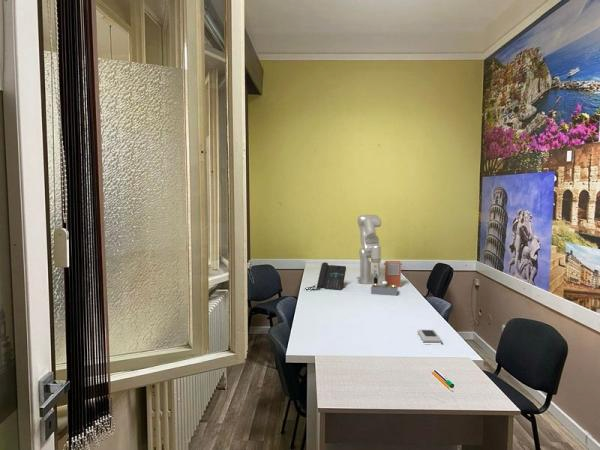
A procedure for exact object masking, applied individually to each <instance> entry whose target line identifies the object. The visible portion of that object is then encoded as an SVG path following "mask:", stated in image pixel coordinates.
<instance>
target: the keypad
mask: <svg viewBox="0 0 600 450" xmlns="http://www.w3.org/2000/svg"><path fill="white" fill-rule="evenodd" d="M417 333H418V334H417ZM417 333H416V334H417V336H418V335H419V336H420V338H421V339H420V338H419V339H420V341H421V340H422V341H423V342H422V341H421V342H422V344H423V343H442V344H443V340H442V339H441V337H440V336H439V335H438V333H437V332H436V331H435V329H418V330H417ZM419 336H418V337H419Z"/></svg>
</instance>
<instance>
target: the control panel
mask: <svg viewBox="0 0 600 450" xmlns="http://www.w3.org/2000/svg"><path fill="white" fill-rule="evenodd" d="M383 265H384V267H385V268H384V281H387V284H386V286H391V285H392V284H394V285H396V286H398V288H401V285H402V282H401V281H402V277H401V276H402V266H403V264H402V261H400V260H385V261H384V263H383Z"/></svg>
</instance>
